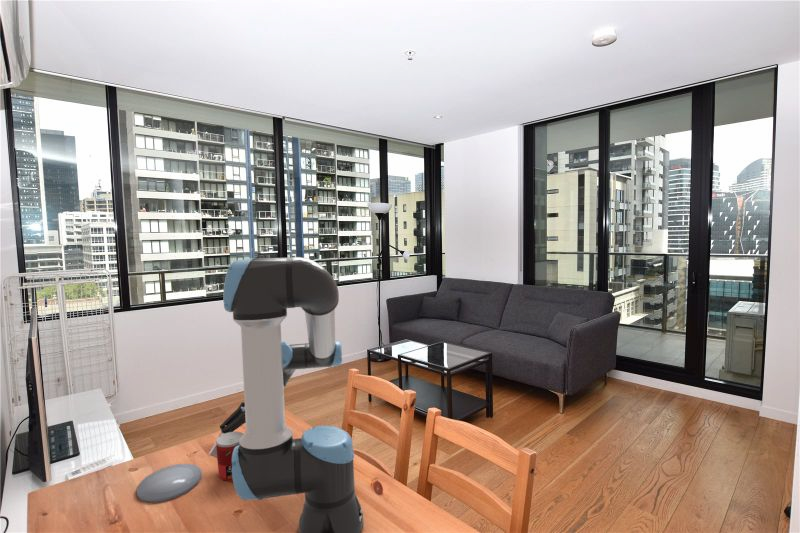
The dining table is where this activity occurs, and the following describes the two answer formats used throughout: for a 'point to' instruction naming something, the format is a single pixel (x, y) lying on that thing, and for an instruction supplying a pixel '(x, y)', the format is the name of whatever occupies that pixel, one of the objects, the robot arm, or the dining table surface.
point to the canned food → (226, 453)
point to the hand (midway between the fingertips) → (223, 463)
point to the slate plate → (169, 483)
